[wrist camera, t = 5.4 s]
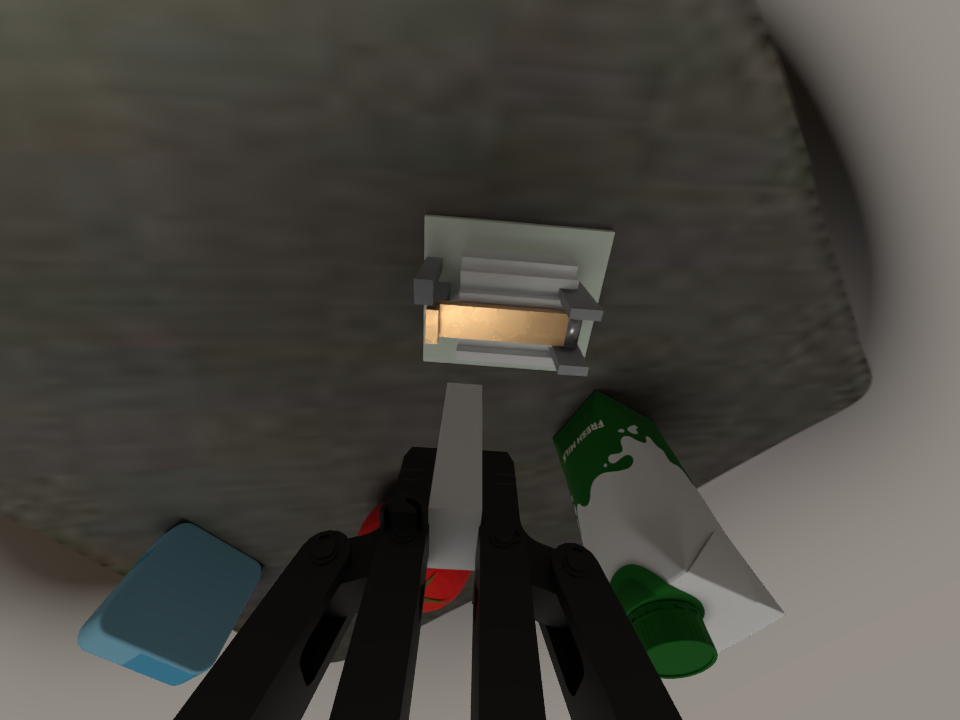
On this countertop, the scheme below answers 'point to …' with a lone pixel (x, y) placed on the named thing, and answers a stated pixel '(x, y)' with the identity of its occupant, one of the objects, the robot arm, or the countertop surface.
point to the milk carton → (658, 540)
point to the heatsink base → (514, 239)
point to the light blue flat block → (173, 607)
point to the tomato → (429, 574)
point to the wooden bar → (501, 324)
